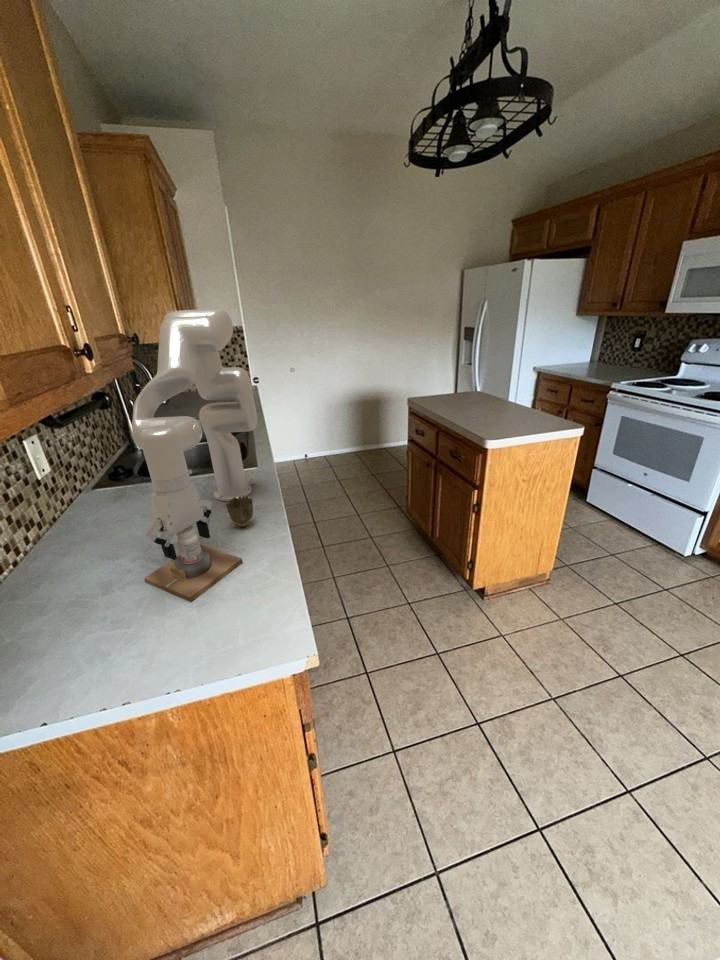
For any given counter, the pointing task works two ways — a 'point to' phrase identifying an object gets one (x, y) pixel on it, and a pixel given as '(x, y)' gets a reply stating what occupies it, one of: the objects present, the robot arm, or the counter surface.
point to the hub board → (198, 582)
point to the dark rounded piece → (240, 510)
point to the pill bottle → (189, 545)
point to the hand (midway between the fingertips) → (188, 547)
